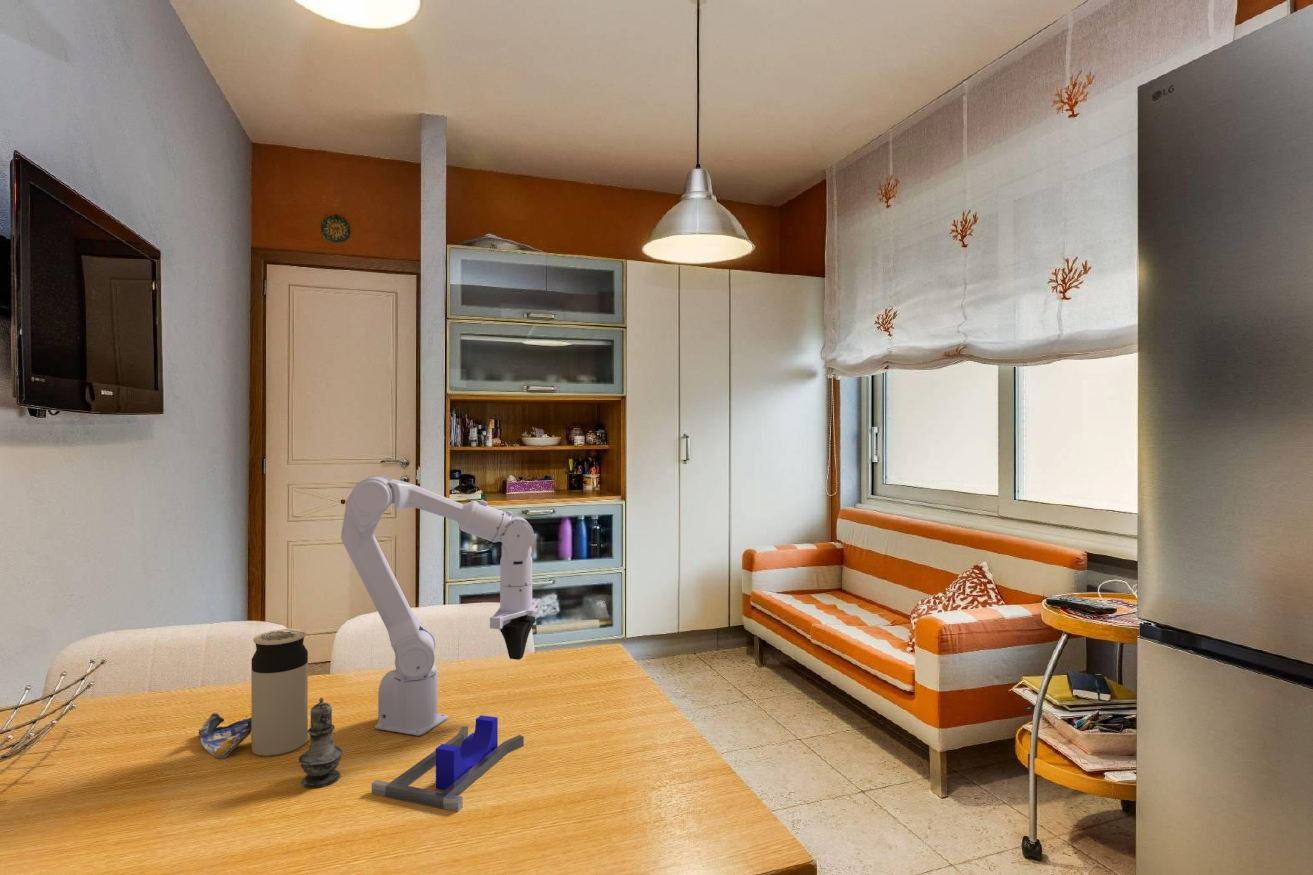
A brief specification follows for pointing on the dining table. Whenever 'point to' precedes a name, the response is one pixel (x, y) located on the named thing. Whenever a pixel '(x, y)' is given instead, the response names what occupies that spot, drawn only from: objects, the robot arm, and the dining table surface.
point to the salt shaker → (321, 750)
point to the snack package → (223, 733)
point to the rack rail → (451, 794)
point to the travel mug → (279, 692)
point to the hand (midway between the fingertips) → (516, 658)
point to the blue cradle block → (466, 752)
